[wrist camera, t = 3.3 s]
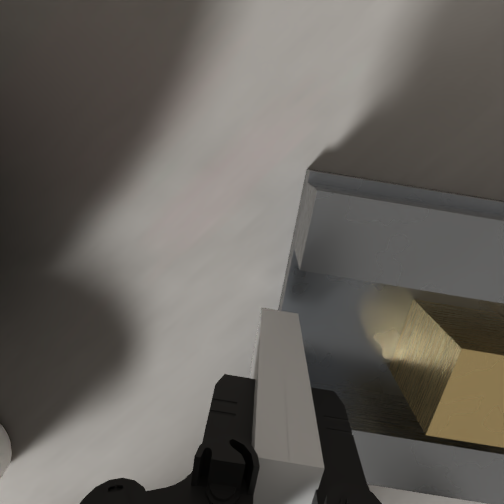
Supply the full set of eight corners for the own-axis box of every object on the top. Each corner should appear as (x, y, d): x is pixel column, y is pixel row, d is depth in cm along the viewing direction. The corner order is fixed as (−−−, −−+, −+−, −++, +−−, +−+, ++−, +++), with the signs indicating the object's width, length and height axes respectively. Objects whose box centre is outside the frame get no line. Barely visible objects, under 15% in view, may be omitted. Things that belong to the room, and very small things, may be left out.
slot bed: (589, 463, 19) (669, 540, 15) (258, 409, 19) (255, 474, 15) (733, 239, 15) (894, 270, 11) (306, 169, 15) (320, 175, 11)
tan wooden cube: (466, 381, 16) (526, 451, 13) (389, 369, 16) (425, 435, 13) (496, 312, 15) (572, 367, 11) (413, 298, 15) (461, 348, 11)
